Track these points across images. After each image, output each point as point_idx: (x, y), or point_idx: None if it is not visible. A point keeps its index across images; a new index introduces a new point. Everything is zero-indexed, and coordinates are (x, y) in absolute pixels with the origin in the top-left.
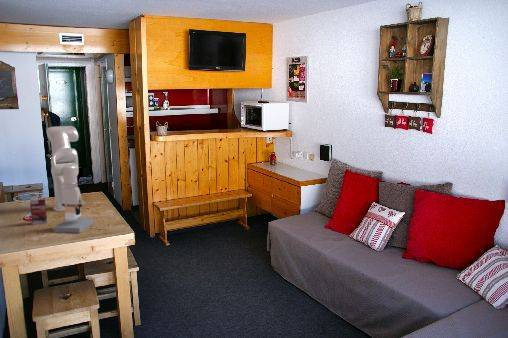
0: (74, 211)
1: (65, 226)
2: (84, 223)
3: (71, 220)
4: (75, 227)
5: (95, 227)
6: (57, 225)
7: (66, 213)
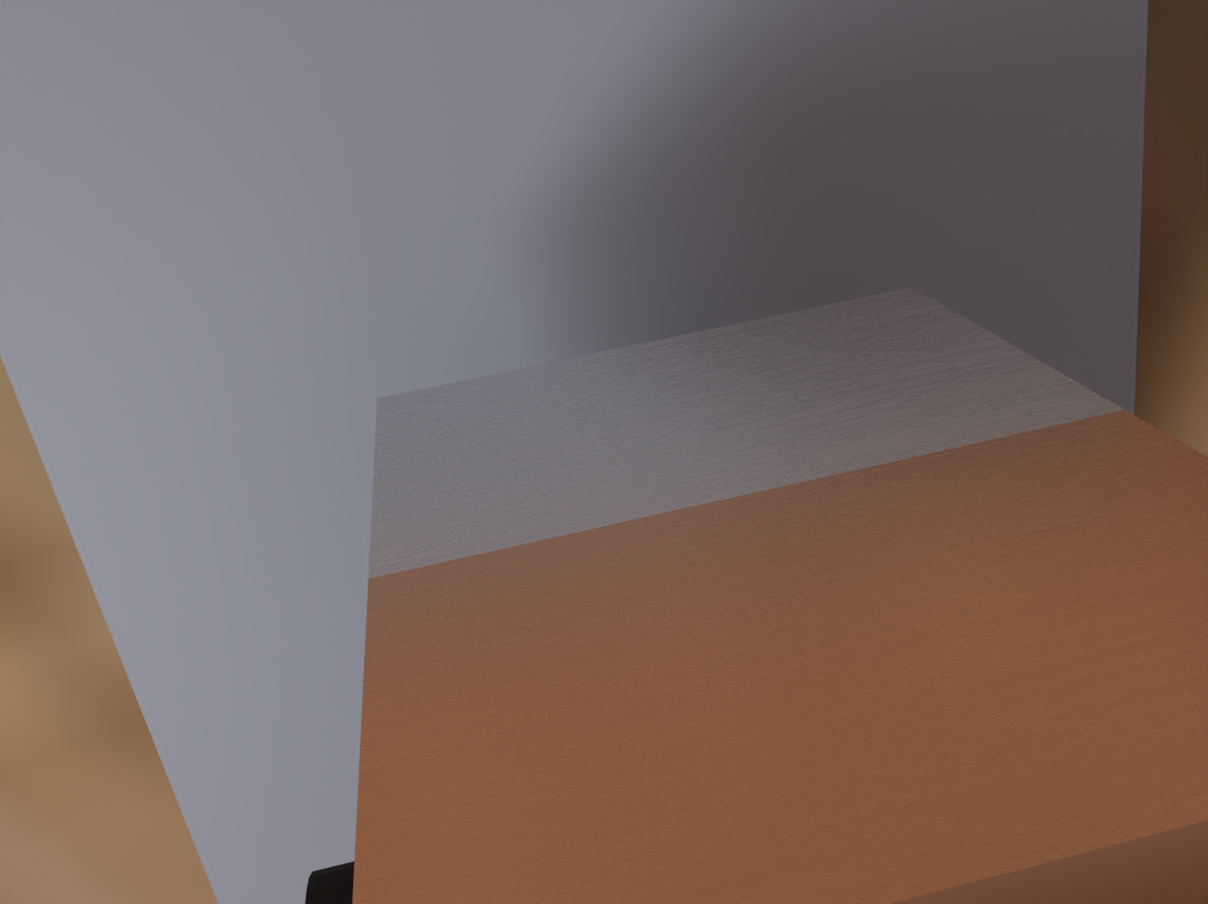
0: (373, 677)
1: (693, 24)
2: (169, 599)
3: None
4: (130, 25)
5: None
6: (1104, 45)
7: (988, 418)
